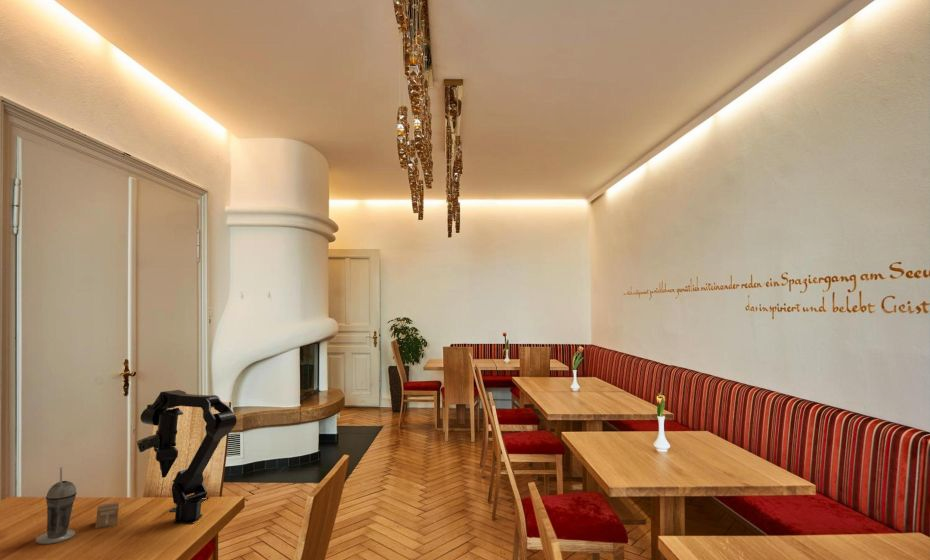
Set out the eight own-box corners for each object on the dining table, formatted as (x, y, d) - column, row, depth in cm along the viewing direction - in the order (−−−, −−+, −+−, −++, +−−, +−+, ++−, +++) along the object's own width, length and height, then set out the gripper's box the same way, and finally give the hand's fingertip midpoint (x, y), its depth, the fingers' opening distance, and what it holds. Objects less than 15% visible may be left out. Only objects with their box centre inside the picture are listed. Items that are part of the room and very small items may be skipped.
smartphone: (167, 511, 170) (191, 495, 185) (167, 513, 170) (191, 497, 185) (188, 512, 170) (210, 496, 185) (188, 514, 170) (210, 498, 185)
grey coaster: (82, 531, 153) (82, 529, 153) (60, 544, 144) (60, 542, 144) (51, 531, 152) (51, 529, 152) (27, 544, 143) (27, 542, 143)
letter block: (96, 522, 160) (98, 504, 160) (117, 519, 163) (118, 502, 163) (95, 529, 155) (97, 510, 155) (116, 525, 158) (118, 507, 158)
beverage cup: (78, 531, 151) (85, 463, 153) (57, 541, 144) (64, 470, 146) (57, 529, 152) (64, 462, 154) (34, 539, 145) (42, 469, 147)
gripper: (139, 423, 175) (134, 469, 173) (140, 435, 159) (135, 485, 158) (175, 421, 181) (171, 465, 180) (180, 432, 166) (175, 480, 164)
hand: (162, 473), depth 170 cm, fingers open, 9 cm apart
